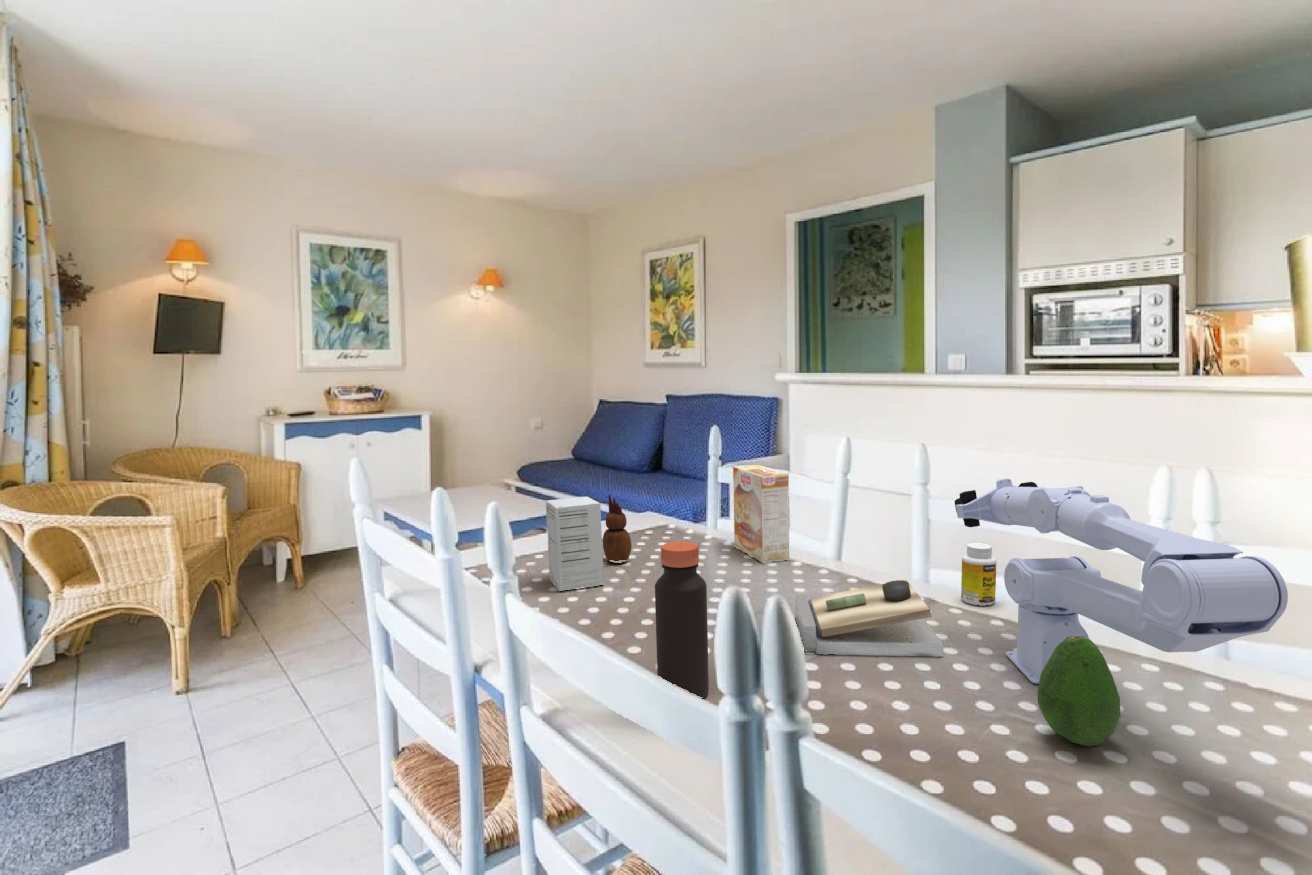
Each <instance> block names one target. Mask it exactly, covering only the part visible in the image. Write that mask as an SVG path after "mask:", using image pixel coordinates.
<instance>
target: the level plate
mask: <svg viewBox="0 0 1312 875" xmlns="http://www.w3.org/2000/svg"><path fill="white" fill-rule="evenodd" d="M808 603H809V606H810V609H811V612H812V615H813V618H814V622H815V625H816V630H817V633H818V635H820V636H823V637H826V636H832V635H837V634H843V633H848V632H853V631H859V630H864V629H869V628H875V627H880V626H886V625H891V624H896V623H902V622H907V621H912V620H918V619H923V618H924V619H928V618H932V613H931V609H930V607H929V606H928V605H927V604H926V602H925V601H924V600H923V599H922V597H921V596H920V595H919V594H918V592H917V591H916V590H915V588H914V587H913V586H912V585H911V584H910V582H909V581H908V580H907V579H903V580H899V579H897V580H891V581H887V582H885V583H881V584H880V583H879V584H875V585H872V586H866V587H861V588H855V589H850V590H845V591H839V592H834V593H830V594H825V595H821V596H820V595H819V596H813V597H810V598H809V600H808Z"/></svg>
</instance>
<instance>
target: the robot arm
mask: <svg viewBox="0 0 1312 875" xmlns="http://www.w3.org/2000/svg"><path fill="white" fill-rule="evenodd" d="M954 505H955V506H954V507H955V512H956V514H957V515H956V516H957V518H958V519H962V520H963V524H964V526H965V527H968V528H976V527H980V526H981V523H980V521H984V522H989V523H993V524H999V525H1003V526H1004V525H1005V526H1020V527H1028V528H1033V529H1035V530H1036V531H1038V532H1039V533H1040V534H1049V533H1051V532H1059V533H1060V534H1061V533H1062V534H1063V535H1065V536H1067V537H1069V538H1071V539H1074V540H1076V541H1078V542H1080V543H1083V544H1085V545H1088V546H1090V547H1092V548H1095V549H1097V550H1100V551H1110V550H1115V549H1116V548H1117V549H1119V550H1120V551H1123V552H1125V553H1126V554H1129V555H1130V556H1133V557H1134V558H1137V559H1138V560H1140V561H1142V562H1143V566H1142V570H1141V578H1140V579H1141V580H1140V582H1141V584H1142V585H1143V588H1142V590H1139V589H1136V588H1133V587H1130V586H1127V585H1125V584H1122V583H1118V582H1117V581H1113V580H1110V579H1107V578H1105V577H1102V575H1101V571H1100V569H1097V568H1094V567H1092V566H1091V565H1090V564H1089V563H1088V562H1087V561H1086V560H1085V559H1084V558H1083V557H1082V556H1078V555H1077V556H1076V555H1074V556H1070V557H1050V558H1020V557H1015V558H1011V559H1010V560H1009V561H1008V562H1007V564H1006V566H1005V569H1004V572H1003V573H1004V574H1003V579H1004V580H1003V581H1004V586H1005V590H1006V591H1007V592H1006V593H1007V594H1008V596H1009V597H1010V598H1011V599H1012V601H1013V602H1014V603H1015V604H1017V605H1018V606H1017V607H1018V608H1017V609H1018V610H1017V638H1016V640H1017V643H1016V646H1017V648H1016V650H1015V651H1013V650H1012V651H1011V650H1010V651H1006V652H1005V655H1006V657H1007V658H1008V659H1009V660H1010V661H1011V662H1012V663H1013V664H1014V665H1015V666H1016V668H1018V670H1020V672H1022V674H1023V675H1024V676H1025V677H1026V678H1027V679H1028V680H1029V681H1030V682H1031V683H1032V684H1038V685H1039V680H1040V675H1041V672H1042V671H1043V669H1044V667H1045V665H1046V664H1047V662H1048V660H1049V658H1050V657H1051V655H1052V653H1053V652H1054V650H1055V648H1056V647H1057V646H1058V645H1059V644H1060V643H1061V642H1062V641H1064V640H1065V639H1066V638H1067V637H1076V636H1084V637H1086V638H1088V639H1090V637H1089V635H1088V632H1087V630H1086V629H1085V628H1084V627H1083V626H1082V624H1081V623H1080V619H1079V615H1080V616H1082V617H1085V618H1087V619H1089V620H1092V621H1094V622H1095V623H1098V624H1100V625H1103V626H1106V627H1107V628H1109V629H1112V630H1114V631H1116V632H1118V633H1121V634H1123V635H1125V636H1127V637H1130V638H1132V639H1134V640H1137V641H1139V642H1141V643H1144V644H1146V645H1148V646H1151V647H1153V648H1155V649H1158V650H1160V651H1161V652H1166V653H1194V652H1199V651H1200V652H1201V651H1203V650H1206V649H1209V648H1211V647H1212V648H1213V647H1215V646H1219V645H1220V644H1223V643H1227V642H1230V641H1231V640H1234V639H1237V638H1238V639H1239V638H1241V637H1246V636H1252V635H1256V634H1257V635H1258V634H1261V633H1266V632H1269V631H1270V630H1271V629H1272V628H1273V626H1275V624H1276V623H1277V622H1278V621H1279V619H1280V618H1281V617H1282V616H1283V615H1284V613H1285V611H1286V609H1287V607H1288V606H1287V605H1288V600H1289V596H1288V589H1287V588H1288V587H1287V584H1286V582H1285V580H1284V578H1283V575H1282V574H1281V573H1280V571H1279V570H1278V569H1277V568H1276V566H1275V565H1274V564H1273V563H1271V562H1270V561H1268V560H1266V559H1265V558H1262V557H1259V556H1256V555H1254V556H1253V555H1248V556H1247V555H1246V556H1242V557H1237V558H1236V557H1235V556H1238V555H1240V554H1243V553H1244V552H1243V551H1242V550H1240V549H1238V548H1236V547H1235V546H1232V545H1227V544H1223V543H1218V542H1215V541H1210V540H1206V539H1201V538H1197V537H1193V536H1189V535H1186V534H1183V533H1179V532H1175V531H1171V530H1168V529H1164V528H1161V527H1158V526H1154V525H1151V524H1147V523H1143V522H1139V521H1136V520H1133V519H1131V517H1130V515H1129V514H1128V512H1127V511H1126V510H1125V508H1123V507H1122V506H1120V505H1117V504H1115V503H1112V502H1110V498H1109V497H1108V496H1106V495H1103V494H1100V495H1099V494H1098V495H1097V494H1096V495H1091V494H1090V493H1089V492H1088V491H1085V489H1084V487H1083V486H1081V485H1079V486H1075V487H1052V488H1051V487H1049V488H1047V487H1040V486H1038V485H1037V483H1035V482H1034V481H1026V482H1021V483H1020V484H1019V485H1018V486H1017V485H1013V482H1012V480H1011V478H1001V479H997V480H996V487H994V488H993V489H991V490H990V491H988V492H986V493H984V494H982V495H980V496H979V497H977V491H976V489H972V490H966V491H962V492H960V493H959V497H958V498H956V499H955V500H954ZM1234 557H1235V558H1234Z"/></svg>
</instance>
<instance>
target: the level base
mask: <svg viewBox="0 0 1312 875" xmlns="http://www.w3.org/2000/svg"><path fill="white" fill-rule="evenodd" d="M794 596H795V597H794V601H795V602H794V603H795V604H794V606H795V617H794V618H795V622H796V625H798V626H797V628H798V627H799V630H800V634H799V637H800V636H801V638H802V642H803V646H804V650H803V652H804V651H805V652H806V650H807V651H808V653H809V651H810V652H811V653H815V652H816V655H817V654H823V656H826V655H827V656H829V655H828V654H835V655H834V656H874V657H877V656H878V657H879V656H880V657H928V658H929V657H931V658H932V657H934V658H935V657H938V658H943V650H944V644H943V643H944V642H942V641H941V639H940V638H939V637H938V635H937V633H936V632H935V631H934V630H933V628H932V627H931V626H930V625H929V623H928V622H927V621H926V618H923V619H918V620H912V621H907V622H902V623H896V624H891V625H886V626H880V627H875V628H869V629H864V630H859V631H853V632H848V633H843V634H837V635H832V636H826V637H823V636H820V635H818V633H817V630H816V625H815V622H814V618H813V615H812V612H811V609H810V606H809V603H808V601H809V600H808V598H807V597H808V596H807V595H806V594H795V595H794ZM799 630H798V631H799ZM801 638H800V639H801ZM802 642H801V643H802ZM803 646H802V647H803ZM812 651H814V652H812ZM805 652H804V653H805Z"/></svg>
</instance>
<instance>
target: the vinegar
mask: <svg viewBox="0 0 1312 875" xmlns="http://www.w3.org/2000/svg"><path fill="white" fill-rule="evenodd" d="M699 552H700V551H699V545H698V544H696V543H694V542H690V541H672V542H667V543H663V544H662V545H661V546H660V561H661V567H662V569H663V574H662V575H661V576H660V577H658V579H657V580H656V582H655V584H654V601H655V602H654V604H655V609H654V610H655V637H656V639H655V640H656V669H657V671H656V673H657V675H658V676H661V677H662V678H663V679H665V680H667V681H669V682H671V683H672V684H676V685H677V686H679V687H681V688H683V689H686V690H688V691H689V692H690V693H694V694H696V695H697V696H700V697H703V699H705V698H706V697H707V696H708V694H709V689H710V684H709V681H710V679H709V676H710V675H709V643H708V642H709V640H708V639H709V638H708V600H707V599H708V597H707V596H708V595H707V594H708V590H707V588H708V587H707V582H706V581H705V579H704V578H703V577H702V576H701V574H699V573H698V572H697V569H698V568H699V562H700V560H699V559H700V557H699V555H700V554H699Z"/></svg>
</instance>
